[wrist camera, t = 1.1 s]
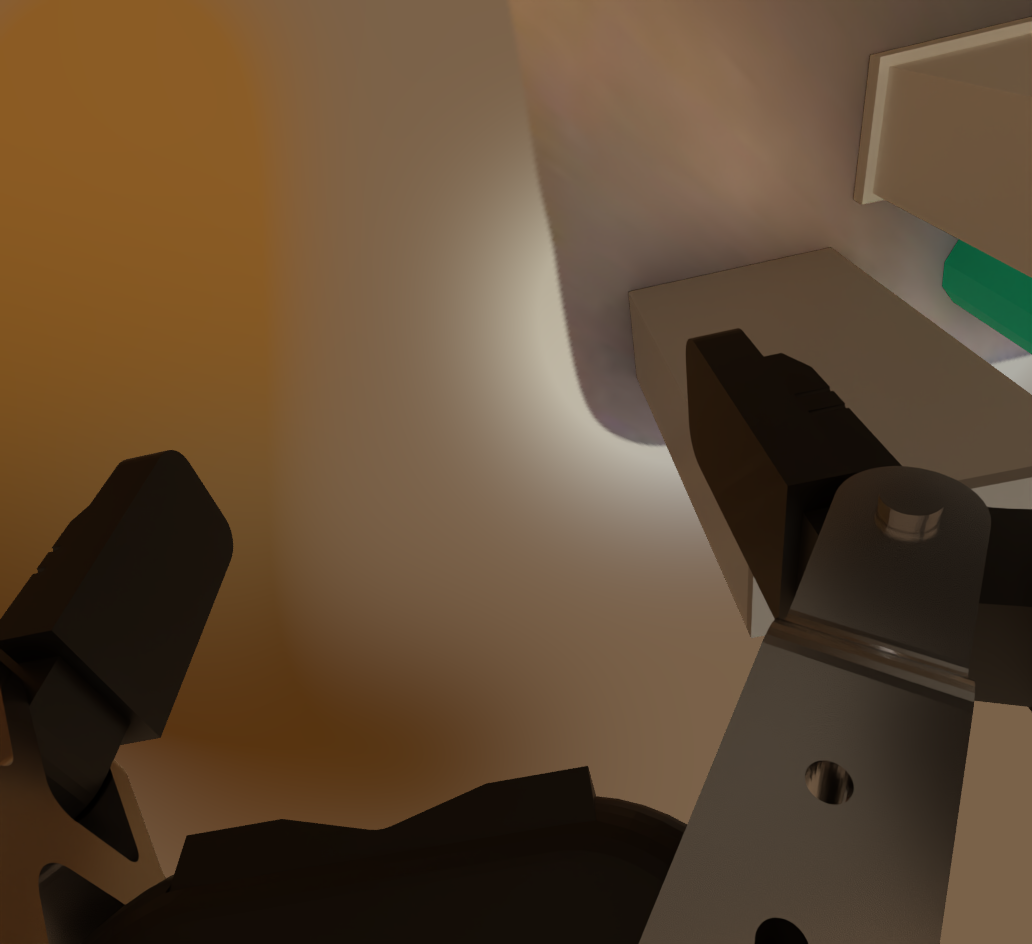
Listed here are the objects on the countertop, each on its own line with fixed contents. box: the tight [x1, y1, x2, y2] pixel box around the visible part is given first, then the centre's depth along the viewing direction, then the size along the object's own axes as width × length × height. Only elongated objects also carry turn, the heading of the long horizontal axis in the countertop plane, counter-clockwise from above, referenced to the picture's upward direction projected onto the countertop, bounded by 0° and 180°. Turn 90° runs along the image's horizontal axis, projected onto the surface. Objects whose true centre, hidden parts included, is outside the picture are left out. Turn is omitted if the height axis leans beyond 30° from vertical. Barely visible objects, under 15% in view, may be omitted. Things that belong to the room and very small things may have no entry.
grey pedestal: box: [628, 247, 1032, 638], centre depth 32 cm, size 6×12×21 cm, turn 101°
